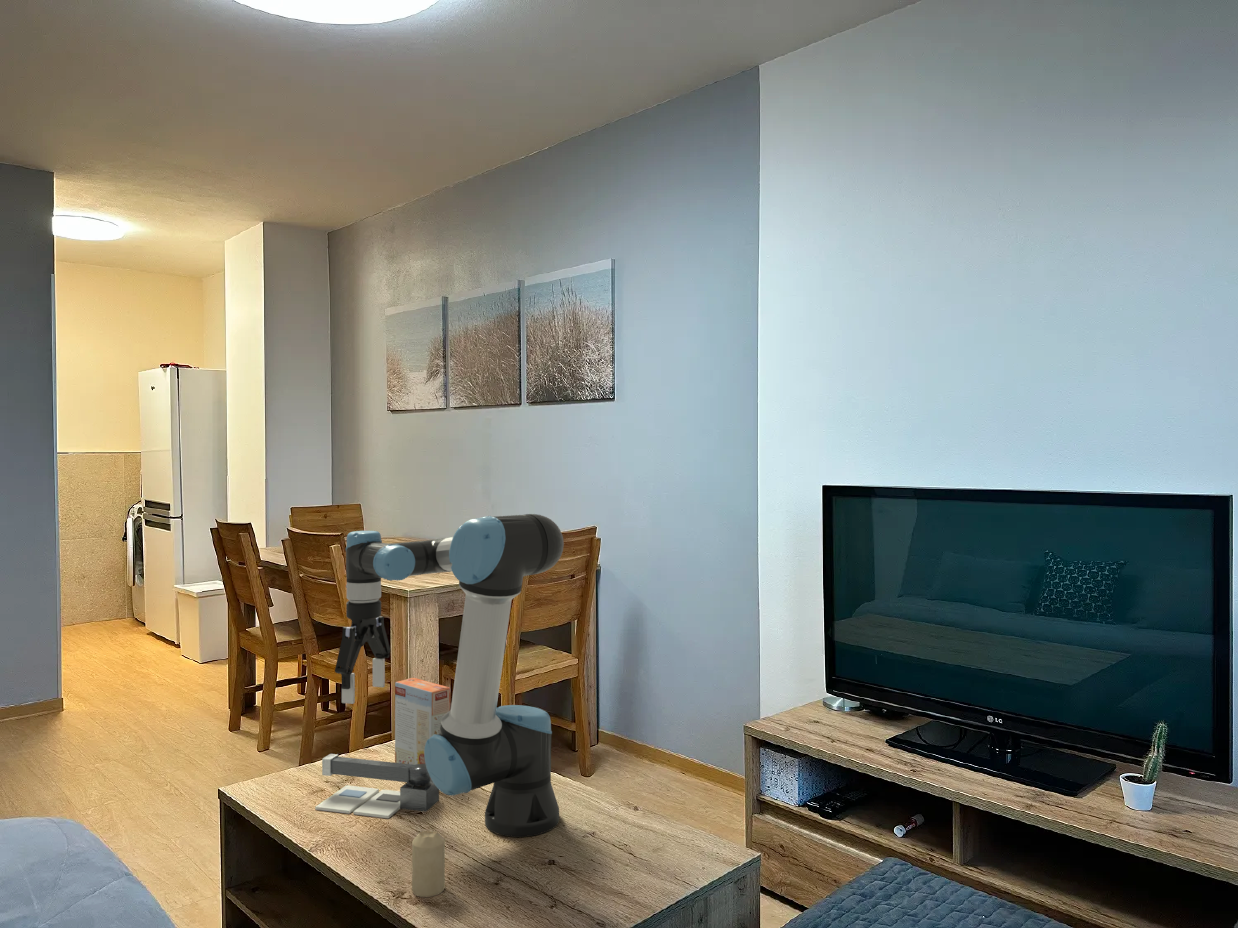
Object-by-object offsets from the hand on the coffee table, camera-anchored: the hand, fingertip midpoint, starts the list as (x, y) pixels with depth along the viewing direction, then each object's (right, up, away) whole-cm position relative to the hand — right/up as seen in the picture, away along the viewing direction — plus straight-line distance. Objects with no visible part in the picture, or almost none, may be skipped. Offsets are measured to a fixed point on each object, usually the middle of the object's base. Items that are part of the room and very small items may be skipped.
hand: (363, 694), depth 197 cm
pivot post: (+15, -21, -10) cm, 27 cm away
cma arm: (+5, -16, -8) cm, 18 cm away
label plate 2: (+8, -21, -10) cm, 24 cm away
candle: (+24, -22, -45) cm, 56 cm away
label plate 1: (-1, -21, -8) cm, 22 cm away
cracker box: (+11, -21, +8) cm, 25 cm away
